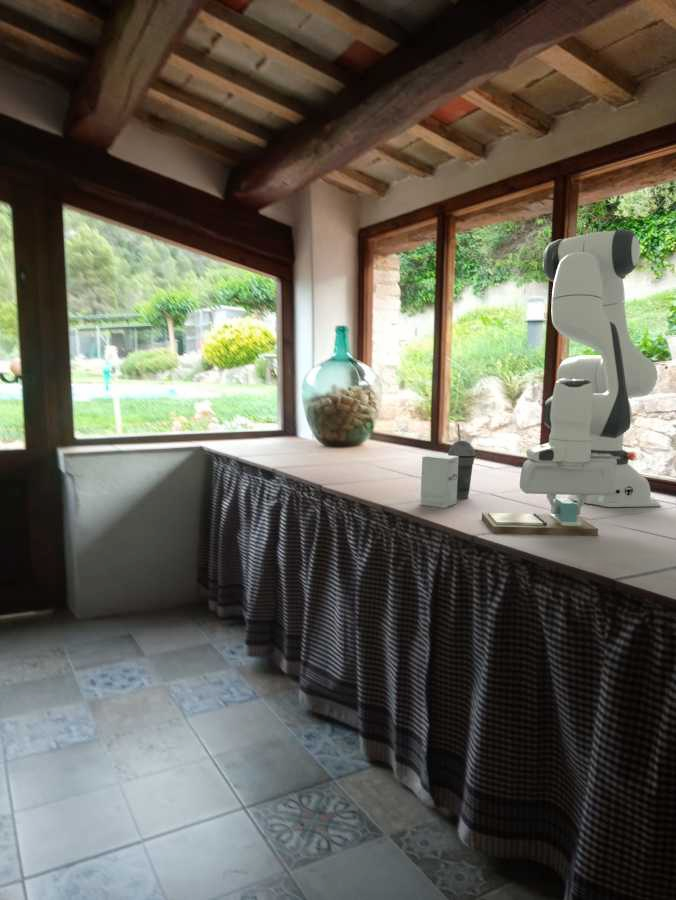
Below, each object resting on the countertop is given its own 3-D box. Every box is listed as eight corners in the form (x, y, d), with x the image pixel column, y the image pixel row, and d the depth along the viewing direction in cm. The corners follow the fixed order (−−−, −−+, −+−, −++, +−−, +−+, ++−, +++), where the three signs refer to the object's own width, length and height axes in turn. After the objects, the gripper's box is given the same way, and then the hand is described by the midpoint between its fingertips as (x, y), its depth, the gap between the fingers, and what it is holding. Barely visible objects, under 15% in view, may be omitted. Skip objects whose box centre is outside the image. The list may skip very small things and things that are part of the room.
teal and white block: (567, 516, 147) (568, 497, 147) (581, 526, 139) (582, 505, 138) (549, 516, 148) (551, 496, 147) (562, 525, 139) (563, 505, 138)
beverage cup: (473, 500, 172) (476, 426, 169) (445, 499, 173) (448, 425, 171) (473, 495, 179) (476, 423, 176) (446, 494, 180) (449, 422, 178)
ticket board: (576, 521, 150) (577, 512, 149) (597, 535, 137) (598, 526, 136) (481, 519, 150) (482, 510, 150) (493, 533, 137) (493, 523, 137)
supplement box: (446, 508, 161) (448, 458, 160) (419, 505, 165) (421, 456, 164) (457, 503, 167) (459, 455, 166) (431, 500, 171) (432, 453, 170)
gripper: (611, 451, 144) (607, 512, 146) (519, 449, 145) (516, 509, 146) (623, 455, 138) (618, 518, 139) (526, 453, 138) (523, 516, 140)
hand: (565, 514), depth 143 cm, fingers closed on teal and white block, 3 cm apart
